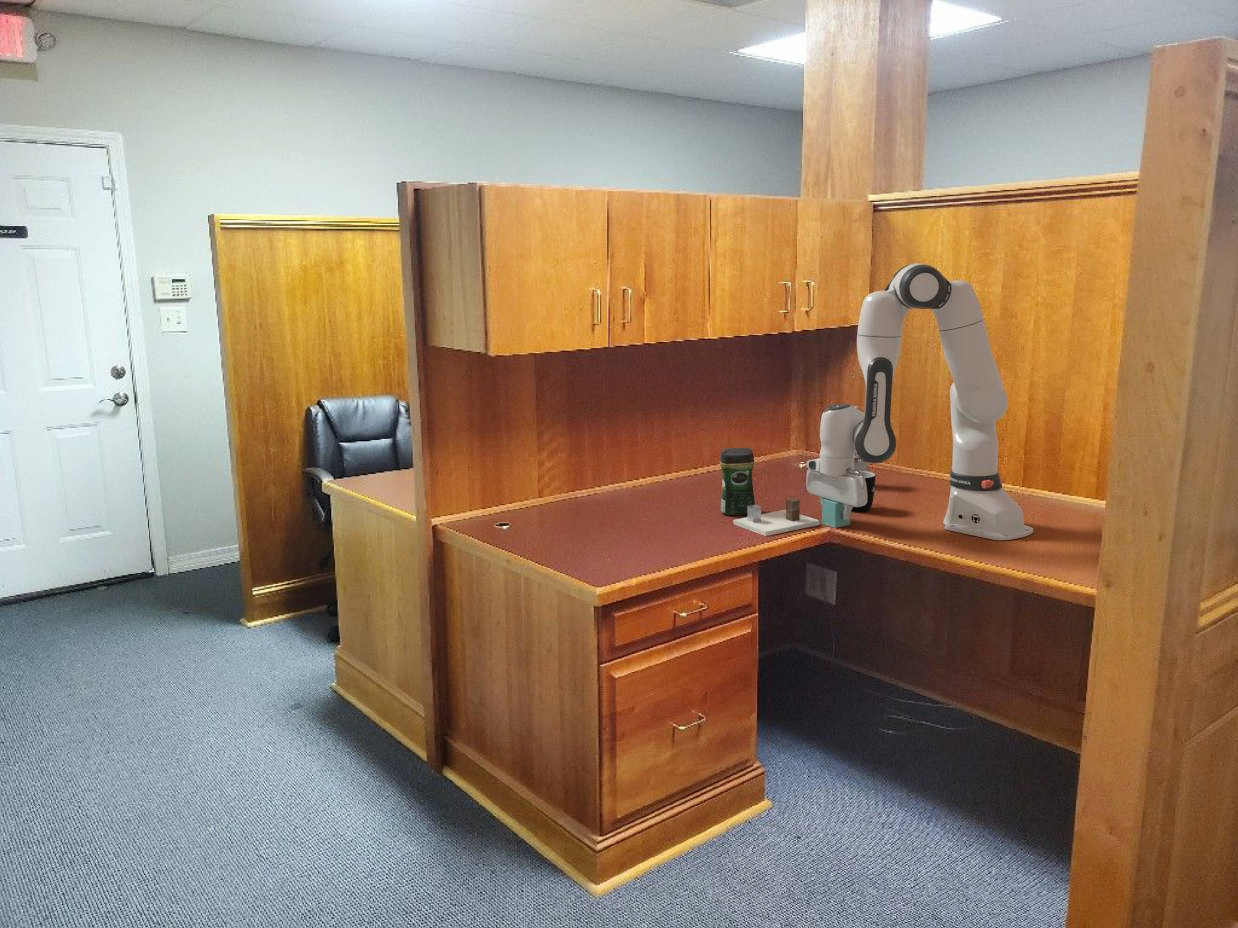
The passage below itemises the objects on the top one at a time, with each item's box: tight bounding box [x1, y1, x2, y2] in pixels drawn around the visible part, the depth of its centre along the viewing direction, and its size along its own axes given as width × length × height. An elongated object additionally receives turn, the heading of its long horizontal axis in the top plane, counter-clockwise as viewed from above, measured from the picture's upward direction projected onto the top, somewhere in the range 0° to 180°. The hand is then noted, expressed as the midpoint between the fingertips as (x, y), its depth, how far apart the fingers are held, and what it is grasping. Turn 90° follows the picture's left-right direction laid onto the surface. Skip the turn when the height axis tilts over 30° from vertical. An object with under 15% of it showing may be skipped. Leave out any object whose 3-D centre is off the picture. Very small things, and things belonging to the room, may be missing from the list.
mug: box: [851, 470, 876, 513], centre depth 274 cm, size 12×9×10 cm
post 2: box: [785, 497, 801, 521], centre depth 260 cm, size 3×3×6 cm
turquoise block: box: [821, 499, 851, 529], centre depth 259 cm, size 5×5×7 cm
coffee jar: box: [719, 447, 756, 516], centre depth 272 cm, size 10×8×19 cm
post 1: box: [746, 504, 762, 523], centre depth 261 cm, size 3×3×4 cm
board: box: [732, 509, 820, 537], centre depth 261 cm, size 14×18×1 cm
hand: (835, 516), depth 259 cm, fingers open, 6 cm apart
